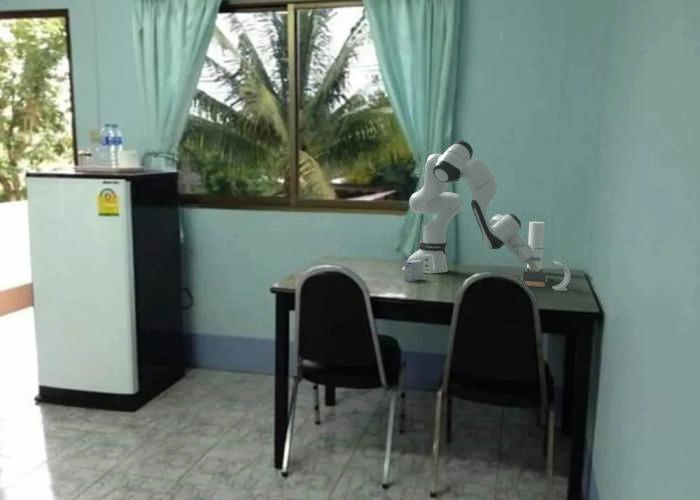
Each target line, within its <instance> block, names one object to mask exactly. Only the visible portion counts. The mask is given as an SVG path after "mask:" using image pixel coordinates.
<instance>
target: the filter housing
mask: <svg viewBox="0 0 700 500" xmlns="http://www.w3.org/2000/svg"><path fill="white" fill-rule="evenodd" d="M520 280H522V281H521V282H524V281H532V282H545V284H548V283H549V280H548V276H547V269H546V268H542V269H540V272H537V271H529V268H527V267H523V272H522V275H521V276H520Z"/></svg>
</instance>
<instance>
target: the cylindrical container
mask: <svg viewBox="0 0 700 500" xmlns="http://www.w3.org/2000/svg"><path fill="white" fill-rule="evenodd" d="M528 225H529V226H528V242H527V243H528V245H529V246H530V247H531V248H532V250H533V251H534V253H535V254H534V255H533V257H541V267H540V269H543V257H544V239H545V225H546V222H544V221H529V224H528ZM526 268H529V264H527V263H526Z"/></svg>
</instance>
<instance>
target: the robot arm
mask: <svg viewBox="0 0 700 500" xmlns="http://www.w3.org/2000/svg"><path fill="white" fill-rule="evenodd" d="M473 154H474V151H473V148H472V145H470V144H469V143H468V142H467V141H465V140H462V139H461V140H457V141H455V142H453V143H452V144H451V145H450V146H449V147H448V148H447V149H446V150H445V151H444V152H443V153H442V154H441V153H432V154H431V155H429V156H428V158H427V159H426V163H425V167H424V181H423V186H422V187H421V189H419V190H417V191H416V192H414V193H412V194H411V195H410V197H409V200H408V201H409V202H408V204H409V205H408V206H409V207H410V208H409V209H410V210H411V211H412V213H414V214H415V213H416V214H421V215H436V218H435V219H433V220H432V221H429V222H427V223H426V224H425V225H423V233H422V234H423V235H422V236H423V237H422V238H423V240H422V241H420V242H419V244H418V248H419V249H418V250H416V251H415V252H414V253H412V254H410V255H409V257H408V259H407V261H412V260H419V261H423V272H422V274H438V273H439V274H440V273H441V274H443V273H447V272H448V271H449V269H448V264H447V247H448V244H447V241H446V240H447V231H448V225H449V224H450V221H451V220H452V218H454V217H455V216H456V215H457V214H459V213H460V212H461V210H462V208H463V204H464V203H463V199H462V197H461V195H460V194H459V193H454V192H451V191H450V192H447V190H448V188H449V183H452V182H458V181H460V179H462V180H464V181H465V182H466V184H467V185H468V187H469V190H470V191H471V196H472V197H471V198H472V199H471V203H470V204H471V209H472V212H473V215H474V217H475V221H476V222H477V225H478V227H479V230H480V233H481V236H482V240H483V243H484V244H485V245H486V247H487V248H489V249H491V250H500V249H501V248H502V247H503V246H504V247H505V248H506V249H507V250H508V252H510V253H513V255H514V256H515V257H516V258H517V259H518V261H520V264H521V263H522V264H525V263H526V265H527V264H529V265H530V266H531V267H532V268H535V267H536V265H535V263H533V262H532V261H531V259H530V258H531V257H533V255H534V254H535V253H534V251H533V250H532V248H531V247H530V246H529V245H528V242H527V239H526V238H525V237H524V236H522V234H520V232H519V231H520V230H521V228H522V222H521V220H520V219H519V218H518V217H517V215H515V214H513V213H506V214H504V215H502V214H500V213H496V214H495V215H493V216H492V217H491V218H490V219H489V218H488V216H487V210H488V207H489V205H490V203H491V201H492V200H493V198H494V197H495V195H496V193H497V190H498V189H497V188H498V187H497V185H498V184H497V181H496V180H495V177H494V176H493V175H492V172H491V171H490V169H489V168H488V166H487V165H486V164H485V163H484V162H483V161H482V160H481V159H479V158H477V157H473ZM402 271H404V272H405V265H404V266H403V267H402Z"/></svg>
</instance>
